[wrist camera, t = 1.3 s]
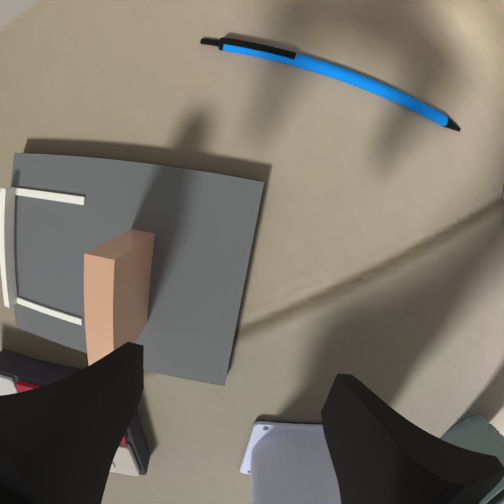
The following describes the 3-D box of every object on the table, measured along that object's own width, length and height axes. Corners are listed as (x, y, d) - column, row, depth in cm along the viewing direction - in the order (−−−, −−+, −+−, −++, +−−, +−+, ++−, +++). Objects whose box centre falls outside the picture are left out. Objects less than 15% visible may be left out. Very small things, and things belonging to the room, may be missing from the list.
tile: (154, 233, 17) (114, 260, 11) (147, 322, 19) (114, 375, 13) (129, 228, 17) (81, 252, 11) (124, 317, 19) (86, 366, 13)
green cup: (410, 467, 26) (443, 536, 14) (457, 409, 23) (510, 479, 12) (459, 458, 27) (492, 513, 15) (500, 405, 24) (546, 458, 13)
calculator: (146, 482, 20) (21, 448, 19) (152, 450, 25) (35, 425, 23) (116, 403, 18) (-21, 369, 17) (131, 369, 22) (2, 347, 21)
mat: (263, 182, 18) (265, 182, 16) (225, 377, 21) (223, 396, 19) (22, 153, 17) (4, 152, 14) (23, 322, 20) (9, 333, 18)
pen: (204, 38, 16) (201, 31, 15) (458, 126, 17) (467, 124, 16) (200, 49, 16) (197, 42, 15) (457, 136, 17) (465, 135, 16)
